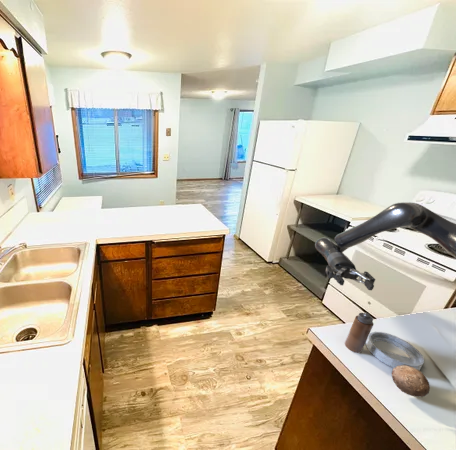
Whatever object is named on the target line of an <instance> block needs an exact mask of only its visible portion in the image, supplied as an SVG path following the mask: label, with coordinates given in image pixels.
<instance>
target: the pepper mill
mask: <svg viewBox="0 0 456 450" xmlns="http://www.w3.org/2000/svg"><path fill="white" fill-rule="evenodd" d="M351 324H352V325H351V327H350V329H349V332H348V335H347V337H346V339H345V341H344V346H345V347H346V348H347V349H348V350H349V351H350V352H352V353H355V354H360V353H362V351H363V349H364V346H365V345H366V341H367V339H368V336H369V335H370V333H371V332H372V330H373V327H374V324H375V323H374V318H373V316H371V315H370V313H368V312H359V313H358V315H356V316H355V317H354V319H353V322H352V323H351Z"/></svg>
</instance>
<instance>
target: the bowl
mask: <svg viewBox="0 0 456 450" xmlns="http://www.w3.org/2000/svg"><path fill="white" fill-rule="evenodd" d="M377 341H378V342H380V341H382V342H387V343H389V344H391V345H393V346H395V347H397V348H399V349H400V350H402V351H403V352H404V353H405V354H406V355H408V356H405V355H402V354H398V353H394V352H391V351H387V350H383V349H380V348H378V346H376V344H374V342H377ZM365 345H366V347H367V350H368V351H369V352H370V353H371V354H372V355H373V356H374V357H375V358H376V359H377V360H378V361H380V362H382V363H383V364H385V365H387V366H389V367H391V368H393V369H394V368H395V367H397V366H401V365H407V366H411V367H414V368H415V369H417V370H419V371H421V369H422V367H423V365H424V363H425V358H424V356H423V355H422V353H421V352H420V351H419V349H417V348H416V347H415V346H414V345H412V344H411V343H410V342H407V341H406V340H405V339H402V338H401V337H398V336H396V335H394V334H391V333H388V332H383V331H373V332H372V331H371V332H370V334H369V336H368V338H367V340H366V342H365Z"/></svg>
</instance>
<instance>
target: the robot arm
mask: <svg viewBox="0 0 456 450" xmlns="http://www.w3.org/2000/svg"><path fill="white" fill-rule="evenodd" d="M399 228H401V229H402V228H403V229H404V228H409V229H412V230H414V231H416V232H418V233H420V234H423V235H425V236H427V237H429V239H432V240H433V241H435V243H437V244H438V245H439V246H440V247H441V248H442V249H443V250H445V251H446V252H447V253H448V254H449V255H450V256H452V257H454V258H455V259H456V223H455V222H452V221H450V220H448V219H446V218H445V217H443V216H441V215H439V214H438V213H436V212H434V211H432V210H431V209H428V208H427V207H426V206H424V205H422V204H420V203H417V202H410V201H409V202H408V201H407V202H404V201H403V202H395V203H393V204H391V205H389V206H388V207H386V208H385V209H383V210H382V211H380V212H379V213H376V214H375V215H374V216H372V217H371V218H369V219H367V220H365V221H364V222H362V223H359V224H358V225H355V226H353V227H351V228H349V229H347V230H345V231H343V232H340V233H337V234H336V235H335V237H334V241H332V240H331V239H329V238H328V237H320V238H318V239H317V240H316V241H315V243H314V247H315V249H316V251H317V252H318V253H319V254H321V256H322V257H324V259H325V261H326V262H327V264H328V265H326V267H325V274H326V276H327V278H328V279H333V280H334V281H336V283H337V284H339V286H344V285H345V279H347V280H352V281H354V282H356V283H358V284H362V285H364V286H365V288H366V289H367V290H368V291H373V290H374V288H375V282H376V278H374V276H373V275H372V274H370V272H369V271H366V270H365V271H363V272H360V271H359V270H357V268H356V265H355V264H354V262H352V260H351V259H350V258H349V257H348V256H347V255H346V254H344V252H345V251H347V250H348V249H350V248H352V247H355V246H357V245H360V244H362V243H364V242H366V241H368V240H369V239H371V238H372V237H374V236H377V235H378V234H380V233H383V232H387V231H391V230H394V229H395V230H396V229H399Z"/></svg>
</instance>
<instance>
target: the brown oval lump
mask: <svg viewBox="0 0 456 450" xmlns="http://www.w3.org/2000/svg"><path fill="white" fill-rule="evenodd" d="M391 378H392V381H393V383H394V385H395V386H396V387H397V388H398V389H399V390H400V391H401V392H403V393H404V394H406V395H408V396H412V397H416V398H418V397H419V398H423V397H425V396H427V395H428V394H429V393H430V389H431V387H430V382H429V380H428V378H427V377H426V375H425V374H424V373H423V372H422V371H421V370H417V369H415V368H414V367H411V366H407V365H401V366H397V367H395V368H393V369H392V371H391Z"/></svg>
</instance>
